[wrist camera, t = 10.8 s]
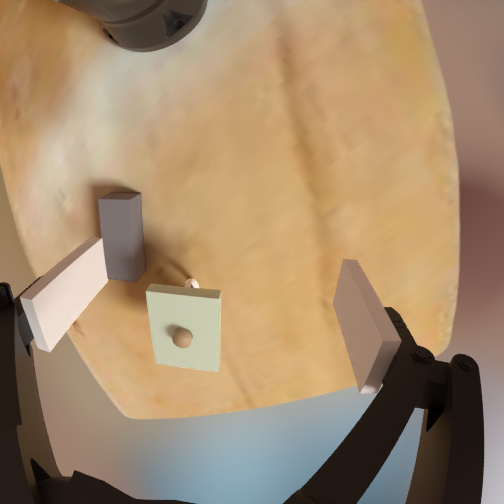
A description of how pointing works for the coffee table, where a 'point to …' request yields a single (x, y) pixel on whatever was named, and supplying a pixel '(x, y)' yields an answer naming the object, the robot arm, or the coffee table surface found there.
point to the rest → (122, 235)
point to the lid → (185, 326)
